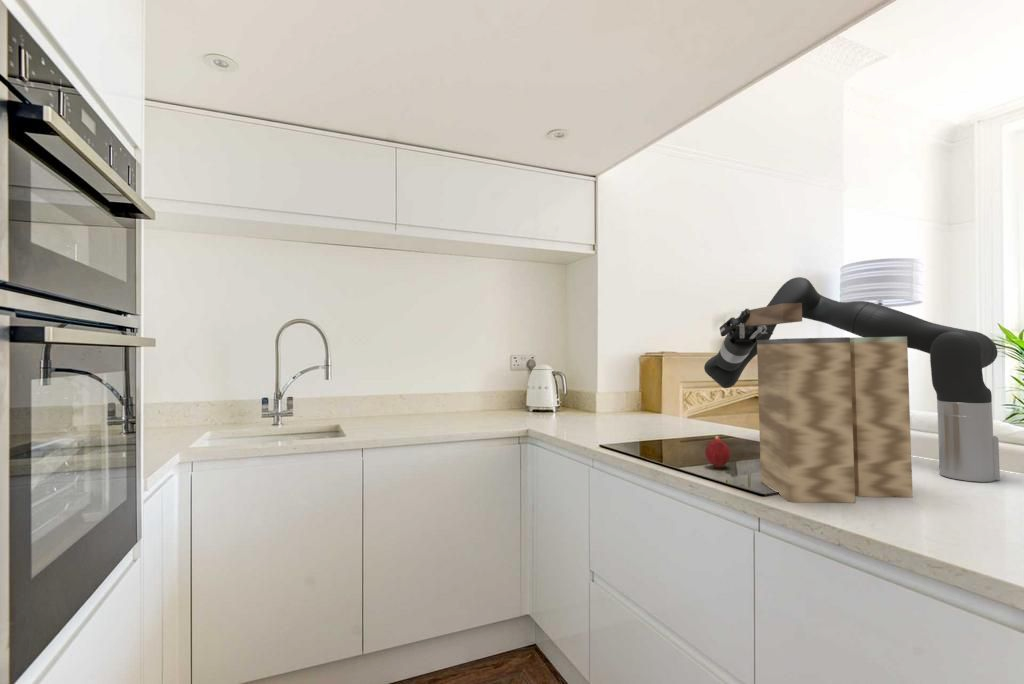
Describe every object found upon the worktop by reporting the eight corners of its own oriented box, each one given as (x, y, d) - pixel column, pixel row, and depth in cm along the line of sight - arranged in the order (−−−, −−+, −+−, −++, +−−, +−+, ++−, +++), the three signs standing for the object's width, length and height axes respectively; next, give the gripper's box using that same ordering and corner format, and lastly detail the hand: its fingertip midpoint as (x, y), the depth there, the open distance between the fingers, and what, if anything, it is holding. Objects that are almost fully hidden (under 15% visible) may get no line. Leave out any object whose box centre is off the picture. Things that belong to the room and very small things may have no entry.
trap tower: (817, 483, 109) (813, 339, 110) (855, 502, 95) (849, 337, 96) (761, 482, 110) (756, 340, 111) (790, 501, 96) (785, 338, 97)
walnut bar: (757, 326, 130) (757, 311, 130) (802, 321, 106) (801, 302, 106) (741, 326, 130) (741, 311, 130) (782, 321, 106) (782, 303, 106)
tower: (868, 478, 112) (864, 338, 112) (912, 497, 98) (907, 336, 98) (822, 478, 113) (817, 339, 113) (859, 496, 99) (853, 337, 99)
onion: (732, 471, 121) (732, 438, 121) (708, 470, 122) (707, 438, 122) (727, 465, 127) (726, 434, 127) (703, 464, 128) (703, 434, 128)
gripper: (709, 334, 142) (725, 299, 127) (760, 333, 141) (783, 298, 126) (713, 357, 138) (731, 324, 123) (766, 356, 137) (790, 322, 122)
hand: (757, 311), depth 125 cm, fingers closed on walnut bar, 4 cm apart
